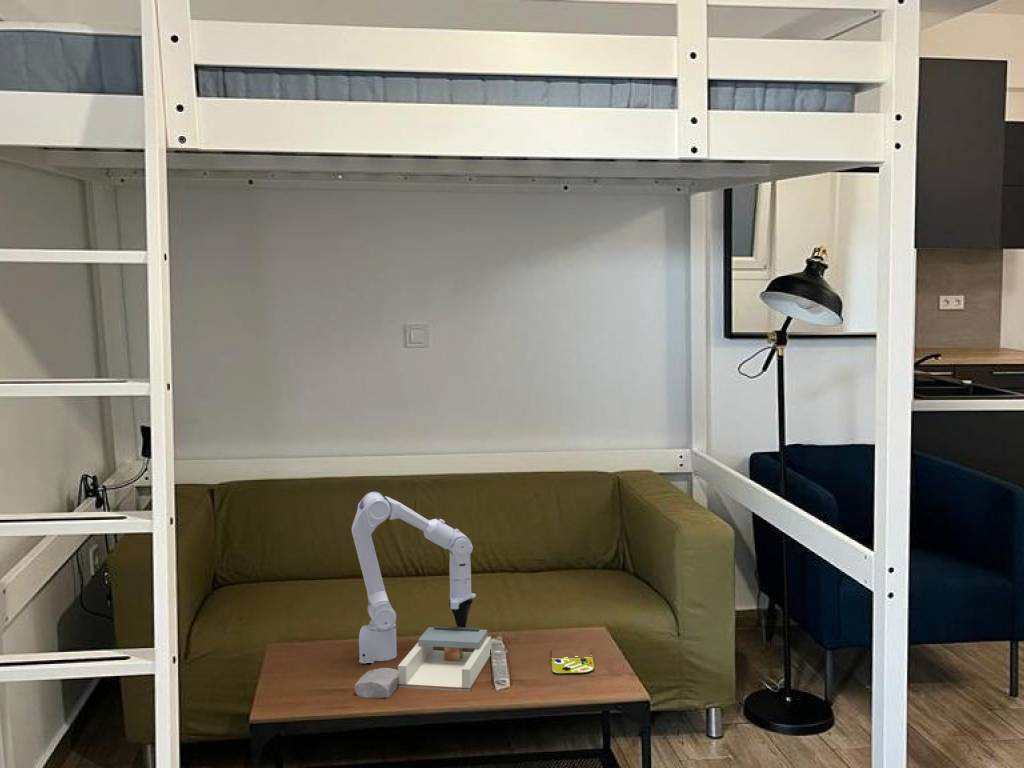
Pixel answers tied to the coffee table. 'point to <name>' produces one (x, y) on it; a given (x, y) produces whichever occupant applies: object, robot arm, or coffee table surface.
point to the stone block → (377, 683)
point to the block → (453, 654)
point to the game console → (572, 666)
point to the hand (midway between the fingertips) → (461, 627)
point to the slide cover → (453, 637)
